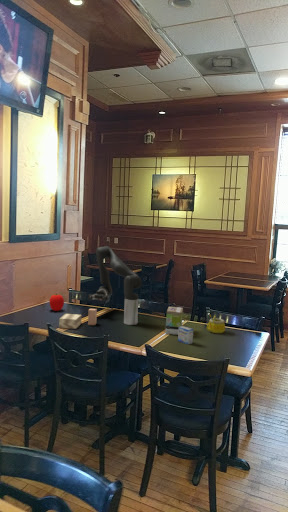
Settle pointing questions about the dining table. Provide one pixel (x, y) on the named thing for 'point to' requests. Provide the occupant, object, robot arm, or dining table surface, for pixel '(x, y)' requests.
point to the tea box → (173, 320)
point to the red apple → (56, 302)
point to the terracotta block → (92, 316)
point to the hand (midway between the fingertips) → (96, 299)
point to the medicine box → (185, 335)
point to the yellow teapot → (216, 325)
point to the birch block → (70, 321)
